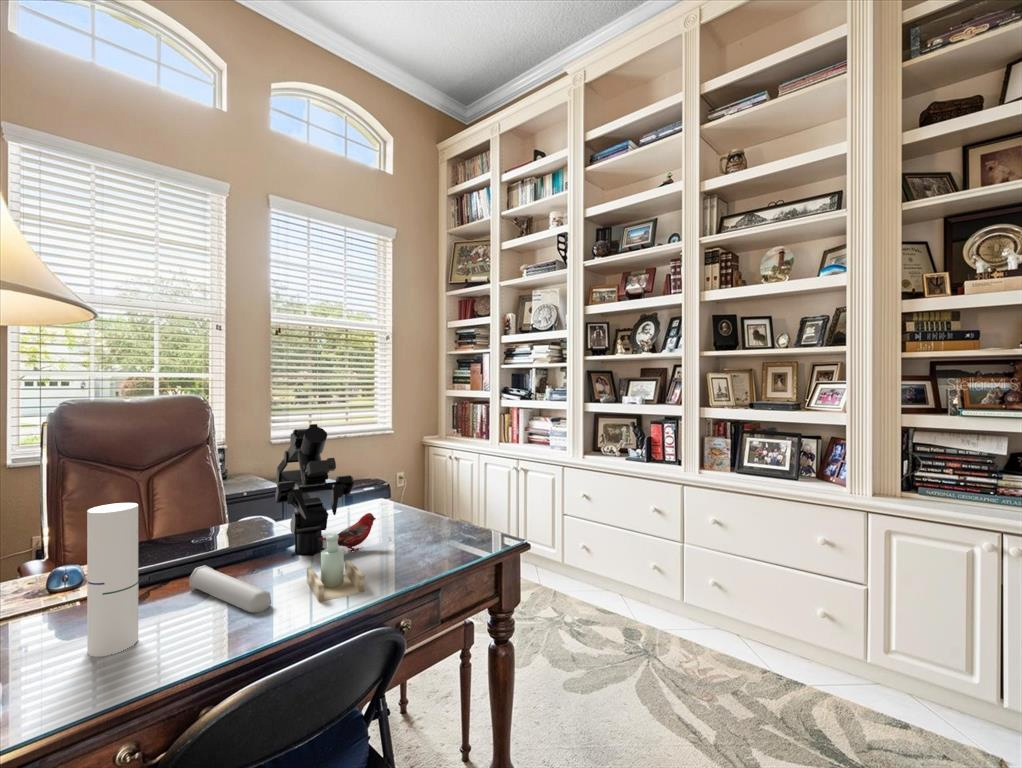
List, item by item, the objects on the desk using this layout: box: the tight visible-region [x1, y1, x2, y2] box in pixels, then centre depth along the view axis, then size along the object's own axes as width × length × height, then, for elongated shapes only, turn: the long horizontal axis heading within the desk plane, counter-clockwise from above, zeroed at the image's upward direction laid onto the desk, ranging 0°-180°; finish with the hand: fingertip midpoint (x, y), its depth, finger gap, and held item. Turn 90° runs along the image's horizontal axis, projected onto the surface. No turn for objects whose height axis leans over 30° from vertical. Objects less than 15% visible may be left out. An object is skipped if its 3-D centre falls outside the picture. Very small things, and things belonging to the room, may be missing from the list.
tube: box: [188, 564, 272, 614], centre depth 108 cm, size 5×5×25 cm
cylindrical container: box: [86, 502, 139, 658], centre depth 89 cm, size 7×7×25 cm
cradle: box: [306, 559, 365, 603], centre depth 113 cm, size 12×10×4 cm
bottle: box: [320, 533, 345, 588], centre depth 115 cm, size 5×5×11 cm
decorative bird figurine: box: [318, 512, 377, 553], centre depth 137 cm, size 3×18×10 cm, turn 138°
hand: (320, 516), depth 125 cm, fingers open, 7 cm apart
